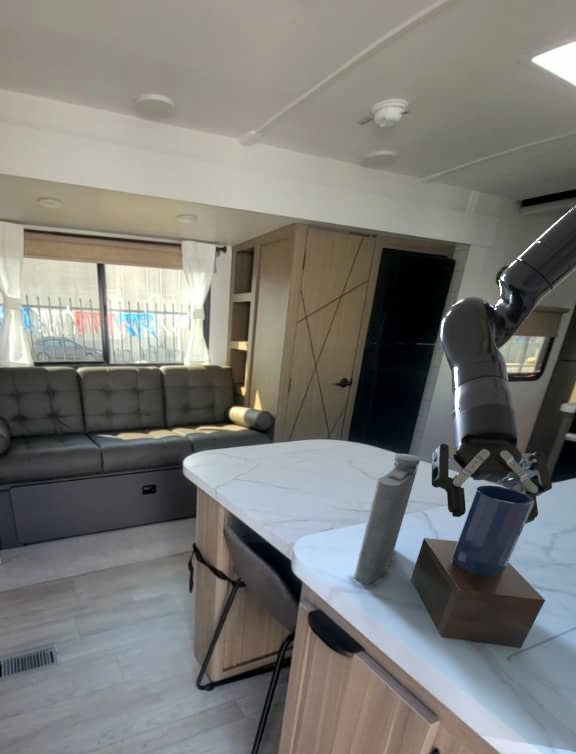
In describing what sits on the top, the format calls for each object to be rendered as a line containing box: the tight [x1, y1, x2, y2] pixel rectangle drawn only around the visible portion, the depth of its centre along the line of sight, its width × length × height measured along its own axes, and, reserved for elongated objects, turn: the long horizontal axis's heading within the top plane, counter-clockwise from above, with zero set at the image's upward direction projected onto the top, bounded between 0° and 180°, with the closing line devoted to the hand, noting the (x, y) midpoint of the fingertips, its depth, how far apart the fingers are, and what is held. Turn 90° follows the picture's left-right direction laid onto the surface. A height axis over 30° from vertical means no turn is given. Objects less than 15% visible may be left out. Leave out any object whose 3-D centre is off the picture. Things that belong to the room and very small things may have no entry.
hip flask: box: [353, 453, 421, 585], centre depth 68 cm, size 16×4×20 cm, turn 143°
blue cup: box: [452, 485, 534, 577], centre depth 55 cm, size 6×6×11 cm
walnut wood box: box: [410, 537, 546, 649], centre depth 60 cm, size 10×14×8 cm
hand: (492, 518), depth 55 cm, fingers open, 8 cm apart
